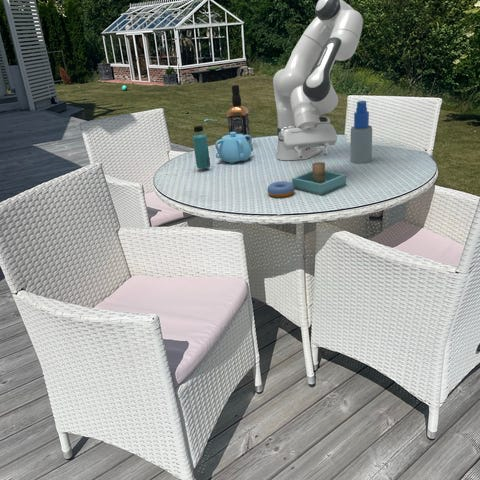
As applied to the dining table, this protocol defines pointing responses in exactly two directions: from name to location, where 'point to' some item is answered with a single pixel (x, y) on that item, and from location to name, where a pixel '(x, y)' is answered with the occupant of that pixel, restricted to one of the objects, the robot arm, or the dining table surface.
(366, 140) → the spray bottle
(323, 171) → the brown wooden cylinder
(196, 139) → the beverage bottle
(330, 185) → the box
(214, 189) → the dining table surface
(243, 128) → the whiskey bottle
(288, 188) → the doughnut
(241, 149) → the decorative pot
